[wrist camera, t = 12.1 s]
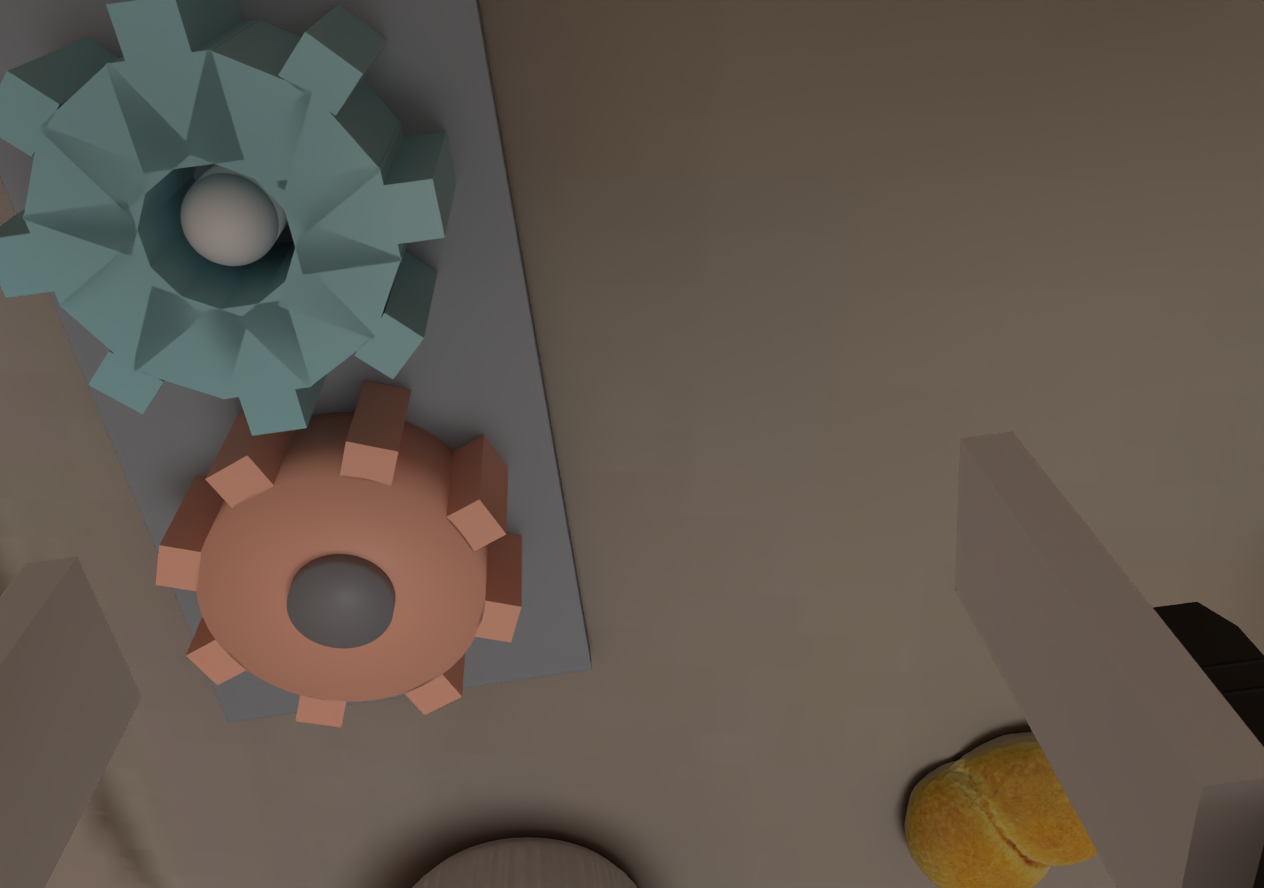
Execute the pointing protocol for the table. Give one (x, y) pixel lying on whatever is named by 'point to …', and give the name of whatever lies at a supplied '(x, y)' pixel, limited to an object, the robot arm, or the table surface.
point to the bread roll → (994, 818)
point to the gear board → (440, 368)
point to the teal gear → (245, 143)
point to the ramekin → (526, 867)
